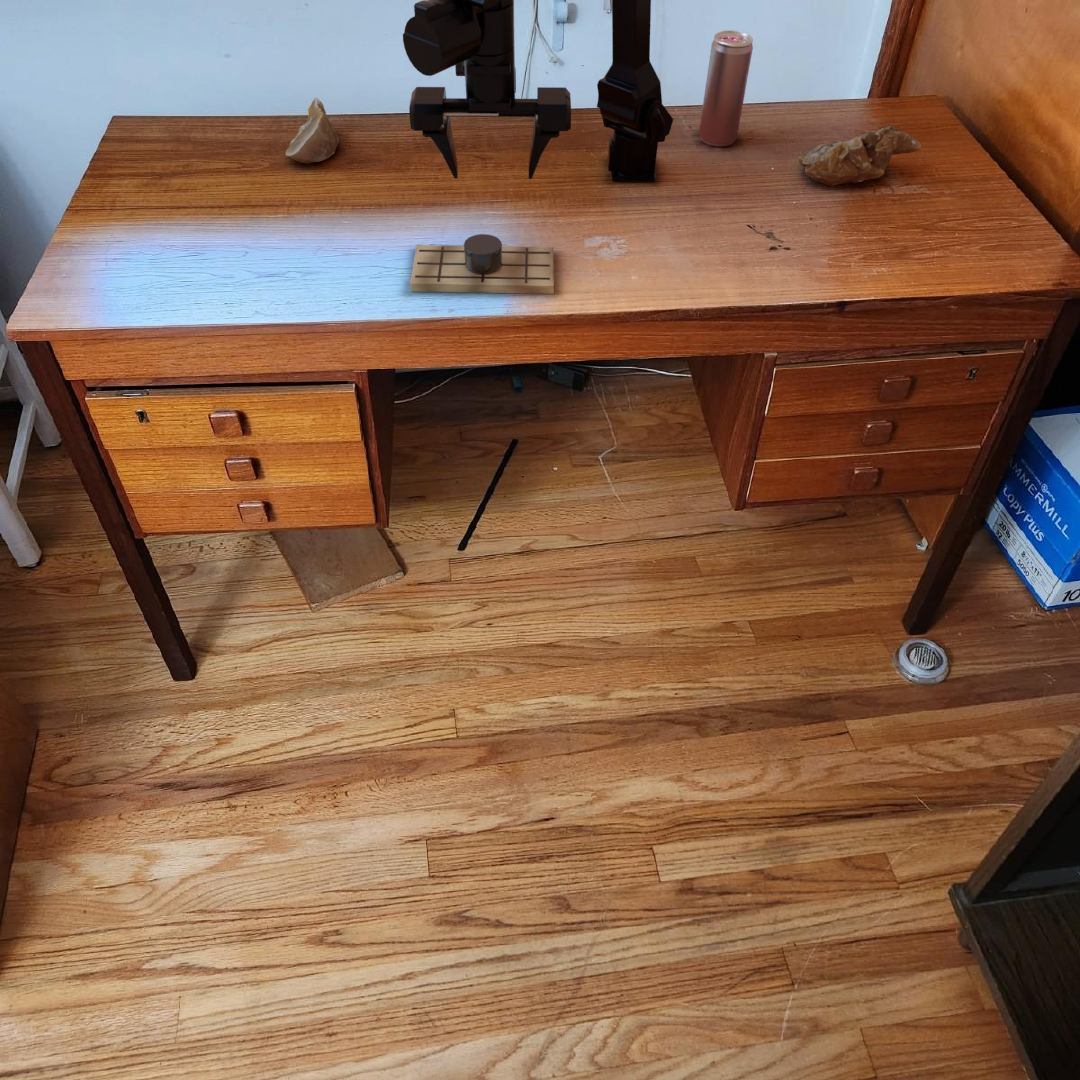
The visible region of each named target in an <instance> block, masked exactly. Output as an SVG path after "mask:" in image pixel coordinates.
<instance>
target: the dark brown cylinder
mask: <svg viewBox="0 0 1080 1080" xmlns="http://www.w3.org/2000/svg"><path fill="white" fill-rule="evenodd" d="M463 246H464V258H465V266H466V268H467V269H468V270H470V271H472V272H474V273H479V274H488V273H492V272H495V271H497V270H498V269H500V267H501V266H502V246H503V243H502V241H501V240H500V238H498V237H497V236H495V235H492V234H487V233H479V234H474V235H472V236H470V237H468V238H466V239H465V240H464V242H463Z"/></svg>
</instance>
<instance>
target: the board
mask: <svg viewBox="0 0 1080 1080" xmlns="http://www.w3.org/2000/svg"><path fill="white" fill-rule="evenodd" d="M554 259H555V258H554V246H511V245H510V246H508V245H502V266H501V267H500V269H498V270H497V271H495V272H492V273H488V274H479V273H474V272H472V271H470V270H468V269H467V268H466V266H465V258H464V245H455V244H454V245H451V244H450V245H446V244H445V245H444V244H416V246H415V251H414V258H413V264H412V270H411V277H410V283H409V285H410V292H415V293H417V292H421V293H423V292H424V293H425V292H426V293H427V292H428V293H479V294H480V293H484V294H485V293H486V294H487V293H488V294H538V295H539V294H547V295H554V294H555V274H554V273H555V269H554V268H555V266H554V261H555V260H554Z"/></svg>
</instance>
